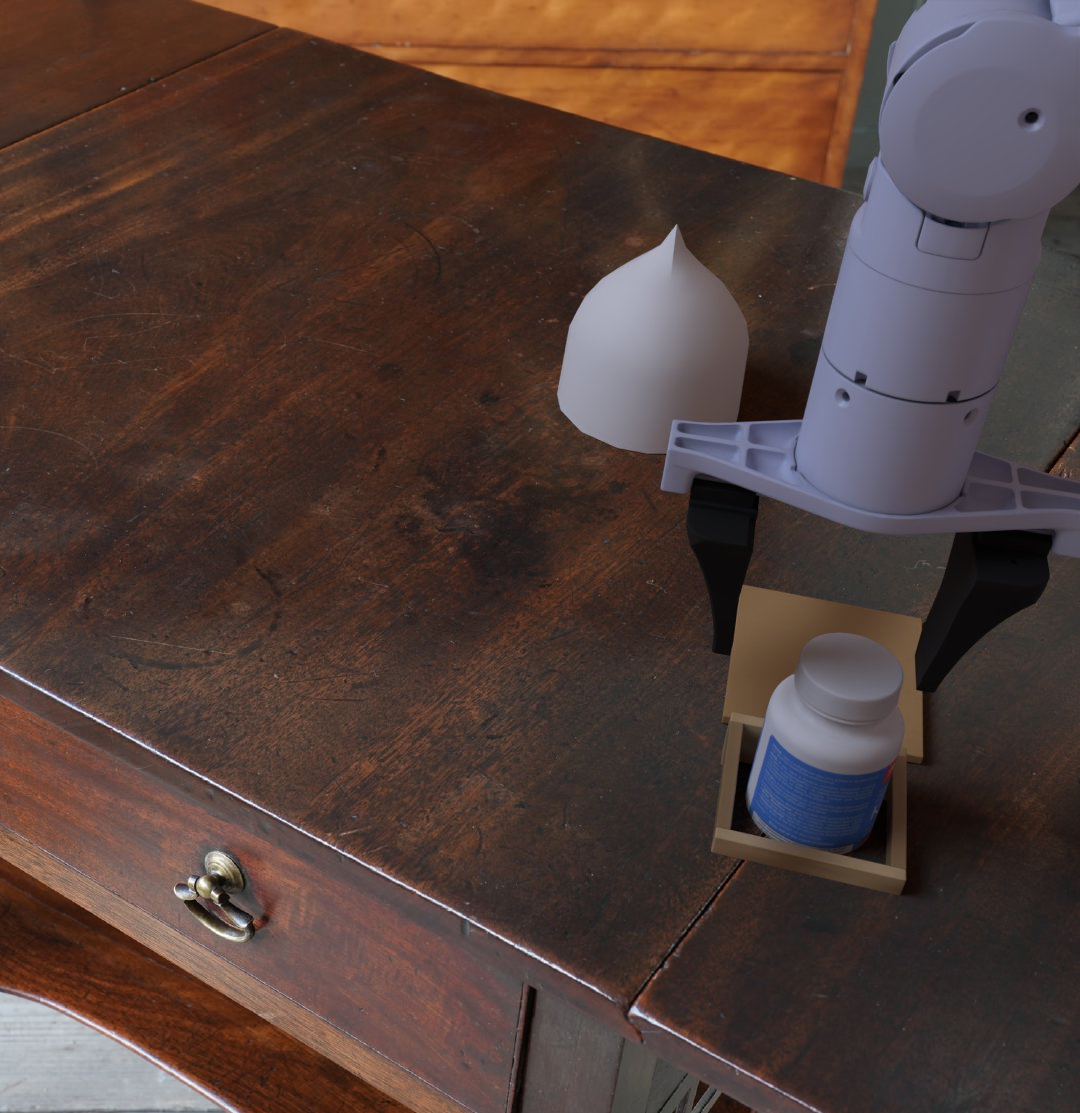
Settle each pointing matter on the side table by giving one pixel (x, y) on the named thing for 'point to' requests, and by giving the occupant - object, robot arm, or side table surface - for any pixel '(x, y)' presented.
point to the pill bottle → (828, 745)
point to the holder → (799, 858)
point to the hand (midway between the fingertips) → (822, 656)
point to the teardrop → (654, 351)
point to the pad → (788, 625)
